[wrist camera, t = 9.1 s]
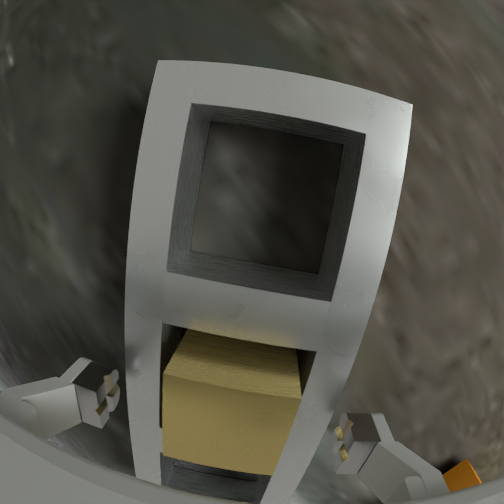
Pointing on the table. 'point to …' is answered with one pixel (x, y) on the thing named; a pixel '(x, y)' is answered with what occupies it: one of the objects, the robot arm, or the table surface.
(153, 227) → the grey rectangular frame
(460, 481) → the bracket
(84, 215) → the table surface
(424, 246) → the table surface
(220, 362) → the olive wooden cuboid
